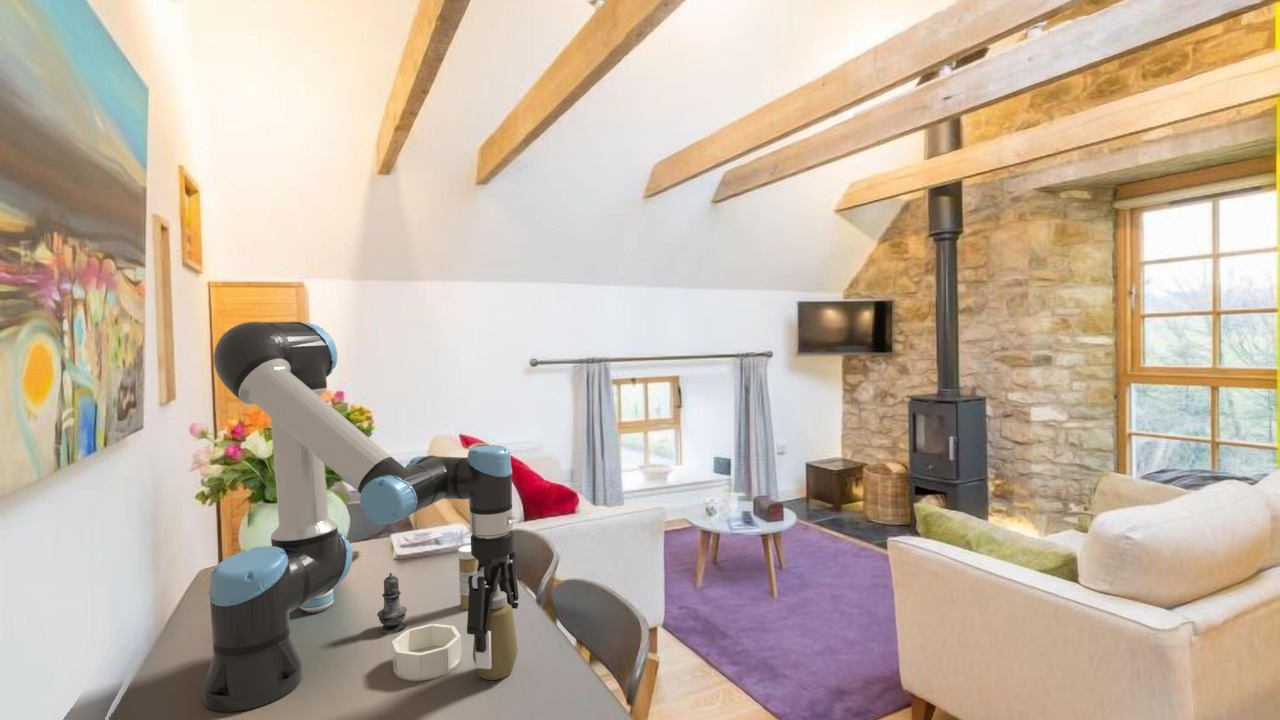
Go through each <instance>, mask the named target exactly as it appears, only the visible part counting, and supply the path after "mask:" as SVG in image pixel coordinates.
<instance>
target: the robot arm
mask: <svg viewBox="0 0 1280 720" xmlns="http://www.w3.org/2000/svg"><path fill="white" fill-rule="evenodd" d="M337 350H338V349H337V347H336V344H335V342H334V340H333V338H332V336H331V335H330V334H329V333H328V332H327V331H326V330H325V329H324V328H322V327H320V326H319V325H317V324H314V323H310V322H309V323H308V322H302V321H294V320H293V321H269V322H268V321H265V322H264V321H249V322H248V321H247V322H243V323H240V324H238V325H235V326H233V327H231V328H230V329H228V330H227V331H225V332H224V333H223V335H222V336H221V337H220V339H218V341H217V344H216V346H215V349H214V353H213V364H214V369H215V371H216V375H217V377H218V378H219V379H220V380H221V382H222V384H223V385H224V386H225V388H226V389H228V391H230V393H232V395H234V396H235V397H236V398H237V399H239V400H240V401H241V402H242V403H243V404H246V405H256V406H257V407H258V408H259V409H260V410H262V411H263V412H264V413H265V414H267V416H268V417H270V425H271V427H270V428H271V437H272V438H271V439H272V452H273V453H272V454H273V464H274V476H275V488H276V489H275V490H276V501H277V504H276V505H277V513H278V514H277V515H278V516H277V517H278V526H277V527H276V529H274V530H273V532H272V533H271V535H270V542H271V543H270V544H271V545H270V546H267V545H266V546H265V545H264V546H258V547H254V548H250V549H249V550H242V551H239V552H237V553H235V554H232V555H231V556H228V557H226V558H225V559H223V560H221V562H219V563H218V564H217V565H216V566H215V567H214V568H213V570H212V572H211V574H210V582H209V583H210V587H209V591H208V598H209V600H210V614H211V615H210V617H211V629H212V630H211V633H212V647H213V649H212V652H213V653H212V658H211V661H210V665H209V667H208V670H207V673H206V677H205V680H204V683H203V687H202V698H203V701H202V702H203V705H204V706H205V707H206V708H207V709H209V710H210V711H211V710H212V711H214V712H215V711H216V712H224V713H225V712H226V713H231V712H239V711H241V712H242V711H245V710H251V709H255V708H258V707H262V706H264V705H267V704H271V703H273V702H275V701H277V700H279V699H281V698H283V697H285V696H286V695H287V694H289V693H291V692H292V691H294V690H295V689H296V688H297V687H298V686H299V685H300V683H301V682H302V680H303V677H304V674H303V672H304V670H303V661H302V660H301V657H300V655H299V652H298V651H297V649H296V647H295V644H294V641H293V639H292V637H291V628H290V613H291V612H293V611H294V610H297V609H298V608H299V609H300V606H302V605H304V604H306V603H307V602H309V601H311V600H313V599H315V598H316V597H318V596H320V595H322V594H325V593H327V592H329V591H330V590H331V589H333V590H334V588H335V587H336V586H338V585H339V584H341V582H343V581H344V579H345V578H346V577H347V576H348V574H349V572H350V569H351V567H352V562H353V549H352V545H351V543H350V541H349V540H348V539H346V536H345V534H344V533H343V532H341V531H340V530H338V528H339V527H338V523H337V522H335V521H334V520H333V519H331V518H330V517H329V509H328V497H327V495H328V494H327V485H326V472H325V471H326V469H325V465H326V466H327V467H329V468H330V469H331V470H332V471H333V472H334V473H336V474H337V475H338V477H340V478H341V479H342V480H344V481H345V482H346V483H347V484H349V485H350V486H351V487H352V488H353V489H354V490H355V491H357V492H358V493H359V494H360V496H359V503H360V504H359V505H360V508H361V509H362V511H363V514H364V516H365V517H366V519H368V520H369V521H371V522H372V523H374V524H378V525H389V524H392V523H393V524H394V523H395V522H398V521H402V520H404V519H407V518H408V517H410V516H411V515H412V514H414V513H416V512H418V511H420V510H422V509H425V508H427V507H429V506H431V505H434V504H435V503H437V502H439V501H441V500H445V499H447V500H448V499H449V500H450V499H451V500H453V499H454V500H468V501H469V524H470V525H469V526H470V527H469V528H470V529H469V531H470V533H471V534H472V535H471V536H470V545H471V554H472V556H473V557H475V558H476V559H477V560H478V568H477V574H476V575H475V576H471V575H470V576H469V578H468V584H469V603H468V609H467V624H466V625H467V626H466V634H467V635H472V636H474V635H475V653H476V664H475V668H476V669H477V668H483V669H491V668H492V653H491V631H488V627H489V621H490V614H491V608H492V601H493V595H494V593H495V592H496V591H497V586H498V583H499V587H500V591H504V592H505V593H506V594H507V603H508V604H510V605H511V606H512V609H513V610H514V609H518V608H519V602H518V601H519V589H518V580H517V571H516V552H515V551H514V546H515V545H514V532H513V531H512V529H513V528H514V526H513V525H514V523H513V520H514V519H515V515H513V494H512V493H513V491H512V489H513V488H512V487H513V486H512V485H513V484H512V483H513V481H512V477H513V468H512V460H511V452H510V450H509V448H508V447H505V445H504V446H503V445H498V444H497V445H496V444H495V445H493V444H492V445H480V446H474V447H472V448H470V449H469V450H468V453H467V457H462V456H461V457H457V456H437V455H427V456H415V457H413V458H411V459H410V461H409V463H408V464H406V466H404V465H403V464H401V463H400V462H399V461H397V460H396V459H395V458H393V457H392V456H391V455H390V454H389V453H387V452H386V451H385V450H384V449H383V448H382V447H380V446H379V445H378V444H377V443H376V442H375V441H373V440H372V439H371V438H370V437H368V436H367V435H366V434H364V433H363V432H362V430H360V429H359V428H358V427H357V426H356V425H354V424H353V423H352V422H351V421H349V420H348V419H347V418H346V417H345V416H344V415H342V414H341V412H339V411H337V410H336V409H335V408H334V407H333V406H331V405H330V404H329V403H328V402H327V401H325V400H324V399H323V398H322V397H321V396H322V395H323V394H324V393H325V392H326V391H327V390H328V385H327V384H328V383H327V377H329V376H330V375H331V374H332V373H333V371H334V369H335V368H336V366H337V363H338V351H337ZM488 586H492V587H491V588H488Z"/></svg>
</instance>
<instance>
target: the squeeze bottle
mask: <svg viewBox="0 0 1280 720" xmlns="http://www.w3.org/2000/svg"><path fill="white" fill-rule="evenodd" d="M487 587H488V588H491V587H492V586H487ZM514 619H515V618H514V609H513V608H512V606H511V605H510V604H508V603H507V594H506V593H505V592H504V591H500V587H499V583H498V586H497V591H496V592H495V593H494V595H493V601H492V608H491V614H490V621H489V627H488V631H491V653H492V668H491V669H483V668H476V669H477V672H478V674H479V677H481V678H482V679H484V680H488V681H489V680H490V681H496V680H502V679H505V678H507V677H508V676H509V675H510V674H512V672H513V669H514V666H515V663H516V659H517V655H518V653H519V651H518V642H517V634H516V625H515V620H514ZM472 648H473V649H472V658H473V662H474V664H475V665H476V653H475V635H473V646H472Z"/></svg>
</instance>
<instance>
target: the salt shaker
mask: <svg viewBox="0 0 1280 720" xmlns="http://www.w3.org/2000/svg"><path fill="white" fill-rule="evenodd" d="M388 575H389V576H387V577H385V579H384V580H383V594H382V597H383V602H384V603H383V608H382V609H380V610H378V612H377V614H376V616H377V617H378V620H379V622H380V623H381V624H382V626H380V628H379V633H380V634H383V635H393V634H398V633H400V632H402V631H404V630H405V629H406V627H407V624H406V623H405V622H403V621H404V619H405V617H406V614H407V611H408V608H407V607H406V606H405V605H404V606H403V605H401V603H400V595H401V591H399V590H400V589H399V579H398V577H397V576H395V575H394V576H393V573H392V572H389V574H388Z"/></svg>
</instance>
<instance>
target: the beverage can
mask: <svg viewBox="0 0 1280 720" xmlns="http://www.w3.org/2000/svg"><path fill="white" fill-rule="evenodd" d="M333 603H334V588H333V589H331V590H330V591H329V592H327V593H325V594H322V595H320V596H318V597H316V598H315V599H313V600H311V601H309V602H307V603H306V604H304V605H302V606H300V607H299V609H301V610H302V611H304V612H306V613H308V614H309V613H310V614H311V613H312V614H313V613H319V612H322V611H326V610H327V609H328V608H329V607H330V606H331V605H332V604H333Z"/></svg>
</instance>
